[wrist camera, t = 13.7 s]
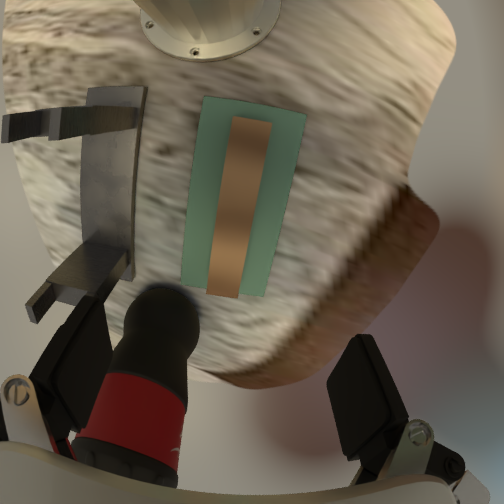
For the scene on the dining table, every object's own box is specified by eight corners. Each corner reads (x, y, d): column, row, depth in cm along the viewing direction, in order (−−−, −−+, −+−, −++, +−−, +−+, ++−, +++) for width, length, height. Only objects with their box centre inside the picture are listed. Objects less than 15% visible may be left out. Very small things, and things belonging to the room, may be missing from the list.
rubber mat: (204, 96, 21) (204, 96, 21) (305, 115, 22) (306, 114, 22) (181, 281, 29) (180, 284, 29) (263, 293, 30) (263, 296, 30)
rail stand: (93, 88, 20) (4, 84, 8) (147, 87, 20) (72, 69, 9) (89, 267, 28) (35, 338, 17) (134, 276, 29) (90, 358, 18)
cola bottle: (136, 329, 33) (71, 553, 6) (132, 274, 29) (21, 546, 2) (200, 340, 33) (174, 583, 7) (205, 287, 30) (165, 602, 3)
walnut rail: (234, 116, 22) (232, 115, 19) (268, 122, 22) (272, 122, 19) (209, 277, 29) (206, 293, 26) (237, 281, 29) (237, 298, 26)
